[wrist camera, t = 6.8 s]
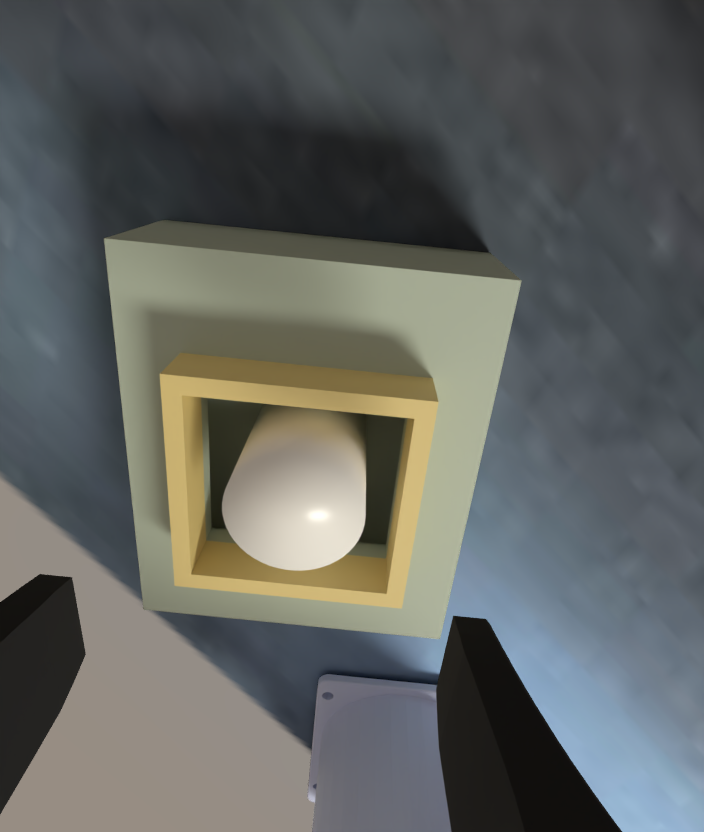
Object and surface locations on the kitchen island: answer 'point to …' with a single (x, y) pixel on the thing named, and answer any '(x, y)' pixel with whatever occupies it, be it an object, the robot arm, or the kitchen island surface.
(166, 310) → the square stacking base
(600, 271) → the kitchen island surface
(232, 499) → the pellet
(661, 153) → the kitchen island surface
